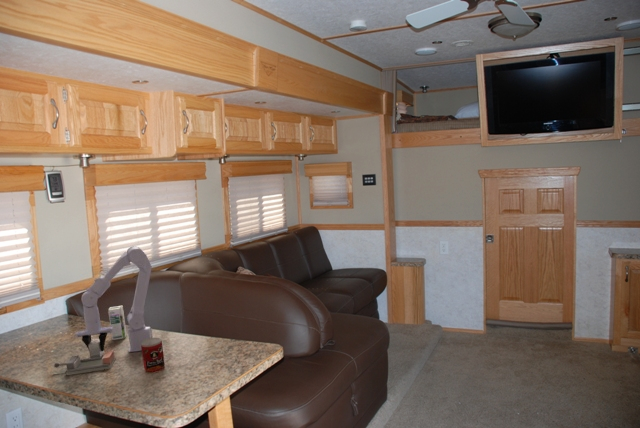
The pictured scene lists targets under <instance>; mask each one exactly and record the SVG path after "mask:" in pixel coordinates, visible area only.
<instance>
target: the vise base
mask: <svg viewBox="0 0 640 428" xmlns="http://www.w3.org/2000/svg"><path fill="white" fill-rule="evenodd" d="M115 355H116V354H114V357H115V358H114V359H113V361H112V363H111V365H110V364H102V358H103V356H104V355H102V356H101V357H95V358H90V357H89V358H82V359H81V356H79V355H72V356H71V357H70V358H69V359H68V361H67V362H62V363H58V362H56V363H54V364H53V366H54V368H59V367H60V366H61V367H62V366H66V376H69V375H70V376H71V375H77V374H78V375H79V374H84V373H91V372H97V371H104V369H105V370H110V369H111V368H112V366H113V364H114V362H115V361H116V356H115Z"/></svg>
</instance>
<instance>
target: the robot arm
mask: <svg viewBox="0 0 640 428" xmlns="http://www.w3.org/2000/svg"><path fill="white" fill-rule="evenodd" d="M126 250H127V251H124V252H123V253H122V254H121V255H120V256H119V258H117V260H116V261H115V262H114V264H113V265H112V266H111V267H110V268H109V270H108V271H107V272H106V273H105V274H104V275H103V276H101V275H100V276H99V277H96V278H95V279H94V280H93V281H94V282H93V283H92V284H91V285H90V287H87V288H86V291H84V293H82V294H81V299H80V300H81V304H82V305H83V306H82V309H83V318H84V325H85V330H80V331H76V332H75V333H74V336H75V339H78V338H81V341H82V342H83V343H84V344H85V346H86V348H87V349H88V351H89V346H88V344H89V343H90V342H91V341H92V336H96V335H98V338H99V340H100V344H101V351H104V350H105V343H106V339H107V335H108V334H109V333H110V334H112V332H113V327H111V326H110V327H108V326H107V327H106V326H105V327H102V325H101V319H100V312H99V307H98V301H99V300H98V299H99V298H101V297H102V296H103V294H104V293H105V292H106V291H107V290H108V289H109V288H110V287H111V285H112V283H111V281H112V280H113V279H114V278H115V276H116V275H117V274H118V273H119V272H121V270H122V269H123V268H125V267H128V266H131V265H132V264H134V265H135V266H136V268H138V277H137V279H136V285H135V292H134V296H133V301H132V306H131V308H130V311H129V313H128V314H127V316H126V321H127V322H128V328H127V331H128V342H129V349H128V350H127V351H128V352H127V353H134V352H135V353H136V352H142V349H141V342H143V341H144V340H147V339H150V338H154V337H153V329H152V327H151V326H146V325H145V318H144V317H145V316H144V315H145V305H146V299H147V295H148V294H147V293H148V289H149V285H150V278H151V274H152V270H153V269H152V264H151V262H150V260H149V257H148V256H147V254H146V253H145V251H143V250H142V249H141V248H140V247H139V246H137V245H132V246H130V247H128V249H126ZM131 263H132V264H131ZM104 352H105V351H104Z"/></svg>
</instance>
